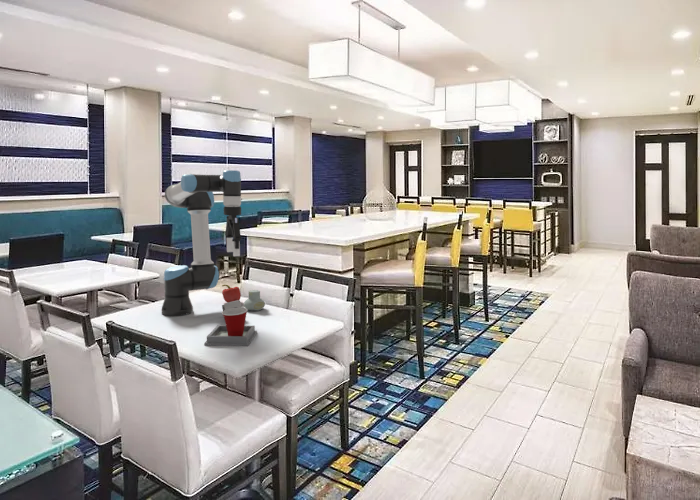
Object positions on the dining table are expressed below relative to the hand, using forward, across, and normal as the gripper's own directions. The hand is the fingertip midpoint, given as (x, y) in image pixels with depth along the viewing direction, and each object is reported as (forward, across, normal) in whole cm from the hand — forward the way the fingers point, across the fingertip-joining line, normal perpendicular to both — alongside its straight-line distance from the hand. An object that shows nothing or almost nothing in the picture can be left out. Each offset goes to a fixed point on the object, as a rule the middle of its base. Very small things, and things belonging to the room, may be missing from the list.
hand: (233, 254), depth 219 cm
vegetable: (+35, +51, -9) cm, 63 cm away
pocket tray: (+35, -13, +4) cm, 37 cm away
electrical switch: (+35, +17, -2) cm, 39 cm away
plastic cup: (+34, -15, +3) cm, 37 cm away
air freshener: (+35, +32, -17) cm, 50 cm away
